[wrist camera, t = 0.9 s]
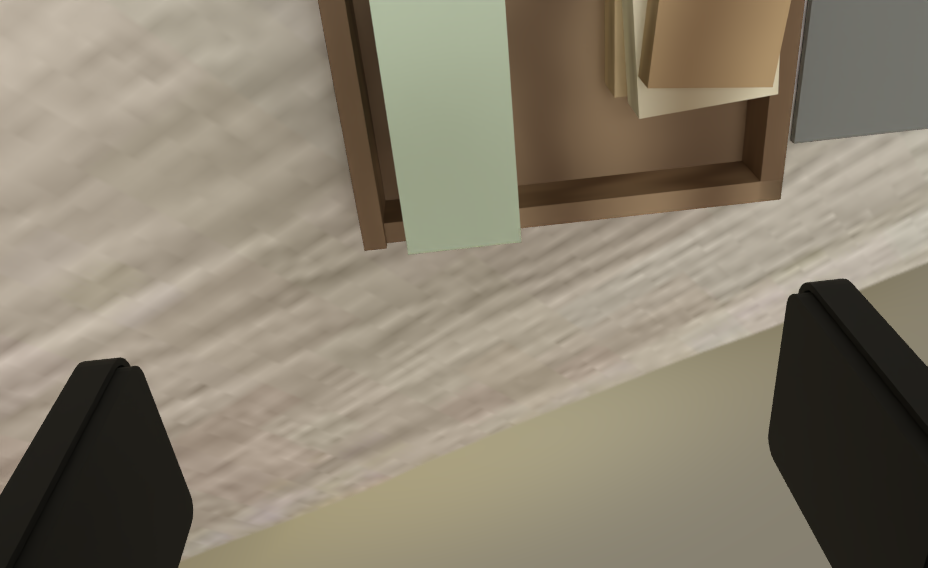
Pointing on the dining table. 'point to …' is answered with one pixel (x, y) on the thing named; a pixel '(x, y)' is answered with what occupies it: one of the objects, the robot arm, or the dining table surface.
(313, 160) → the dining table surface
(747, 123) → the wooden tray
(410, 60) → the pale green rectangular block
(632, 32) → the offcut birch
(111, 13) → the dining table surface
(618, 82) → the offcut oak
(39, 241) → the dining table surface
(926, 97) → the mat
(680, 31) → the offcut teak
